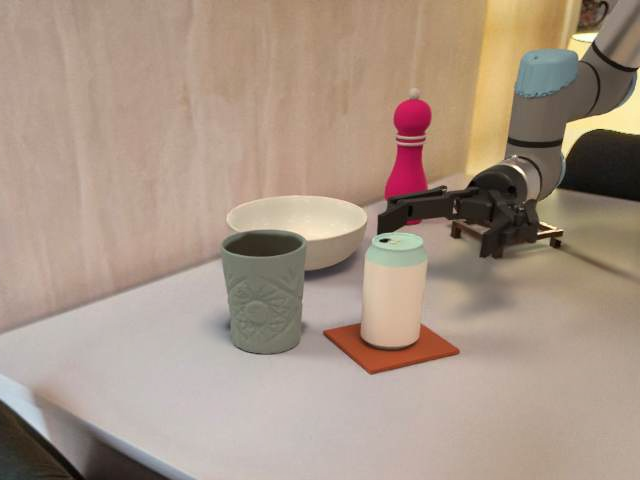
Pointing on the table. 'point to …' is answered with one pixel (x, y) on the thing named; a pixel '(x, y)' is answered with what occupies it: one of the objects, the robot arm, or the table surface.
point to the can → (393, 290)
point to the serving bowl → (306, 224)
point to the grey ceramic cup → (265, 288)
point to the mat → (387, 359)
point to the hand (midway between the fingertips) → (429, 236)
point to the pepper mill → (409, 147)
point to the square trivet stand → (547, 233)
